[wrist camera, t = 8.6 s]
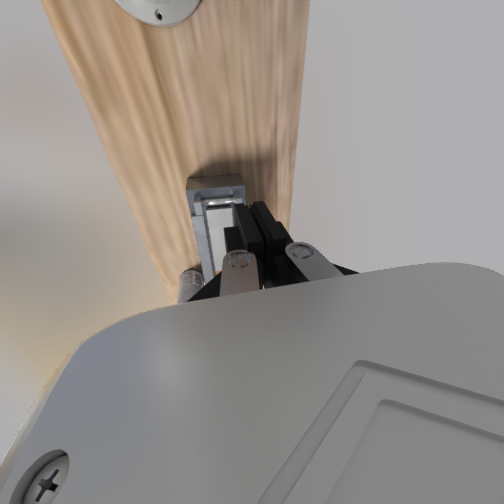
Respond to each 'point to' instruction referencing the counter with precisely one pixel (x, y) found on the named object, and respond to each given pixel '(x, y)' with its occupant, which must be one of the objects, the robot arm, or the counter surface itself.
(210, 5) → the counter surface
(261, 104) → the counter surface
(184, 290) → the energy drink
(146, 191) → the counter surface
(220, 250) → the grey bar
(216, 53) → the counter surface
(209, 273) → the grey piece
